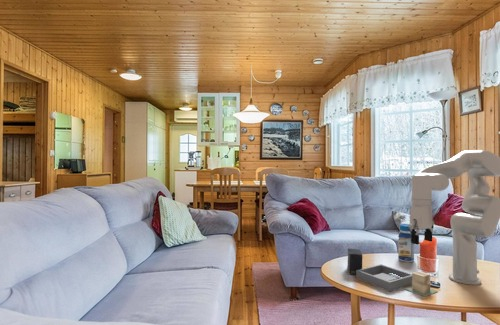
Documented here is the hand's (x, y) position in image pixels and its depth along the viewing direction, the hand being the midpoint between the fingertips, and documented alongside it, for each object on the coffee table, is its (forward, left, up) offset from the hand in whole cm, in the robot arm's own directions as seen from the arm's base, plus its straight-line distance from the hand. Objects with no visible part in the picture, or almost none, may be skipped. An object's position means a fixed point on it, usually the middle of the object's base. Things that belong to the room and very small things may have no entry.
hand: (421, 242), depth 139 cm
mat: (0, 0, -21) cm, 21 cm away
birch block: (0, 0, -21) cm, 21 cm away
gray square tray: (+4, -15, -21) cm, 26 cm away
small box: (+6, -31, -21) cm, 38 cm away
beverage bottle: (-35, -30, -21) cm, 51 cm away
